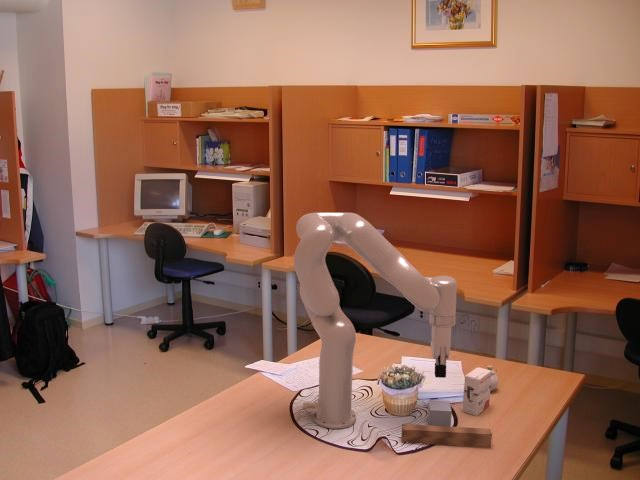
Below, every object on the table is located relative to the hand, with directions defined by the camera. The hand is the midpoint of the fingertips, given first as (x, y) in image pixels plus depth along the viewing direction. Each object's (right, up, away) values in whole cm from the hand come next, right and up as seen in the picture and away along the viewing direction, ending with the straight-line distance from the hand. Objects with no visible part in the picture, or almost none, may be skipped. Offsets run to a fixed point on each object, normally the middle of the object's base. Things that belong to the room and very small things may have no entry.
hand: (440, 376), depth 215 cm
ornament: (+18, -8, +15) cm, 25 cm away
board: (-1, -15, -17) cm, 23 cm away
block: (-2, -13, -7) cm, 15 cm away
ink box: (+11, -10, +3) cm, 16 cm away
